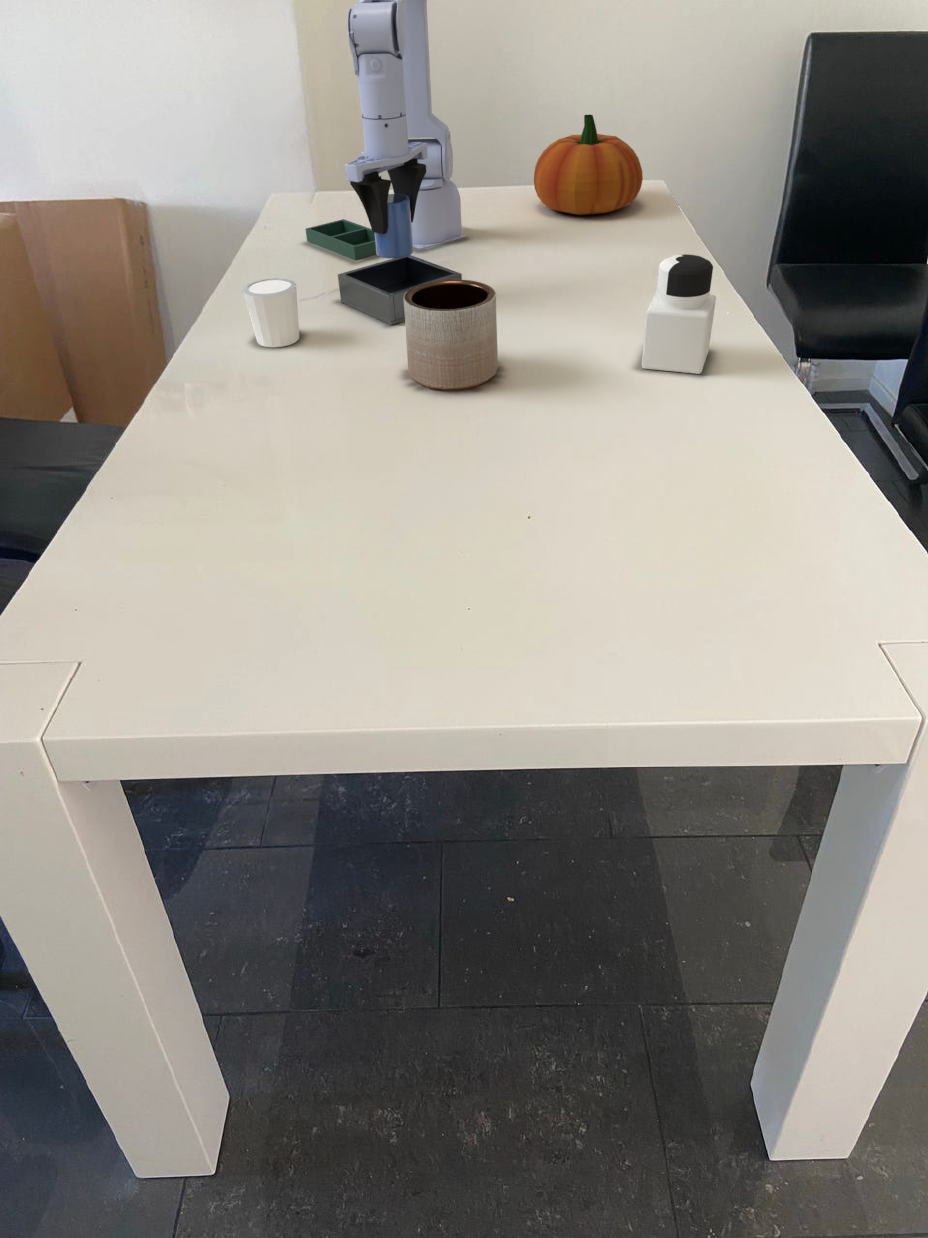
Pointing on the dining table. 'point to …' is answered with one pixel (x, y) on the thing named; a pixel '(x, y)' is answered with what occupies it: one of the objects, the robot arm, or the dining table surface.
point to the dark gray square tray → (388, 285)
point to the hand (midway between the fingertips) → (393, 226)
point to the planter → (451, 333)
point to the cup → (396, 229)
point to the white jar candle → (273, 311)
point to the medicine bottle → (680, 316)
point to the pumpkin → (588, 173)
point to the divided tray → (344, 239)
